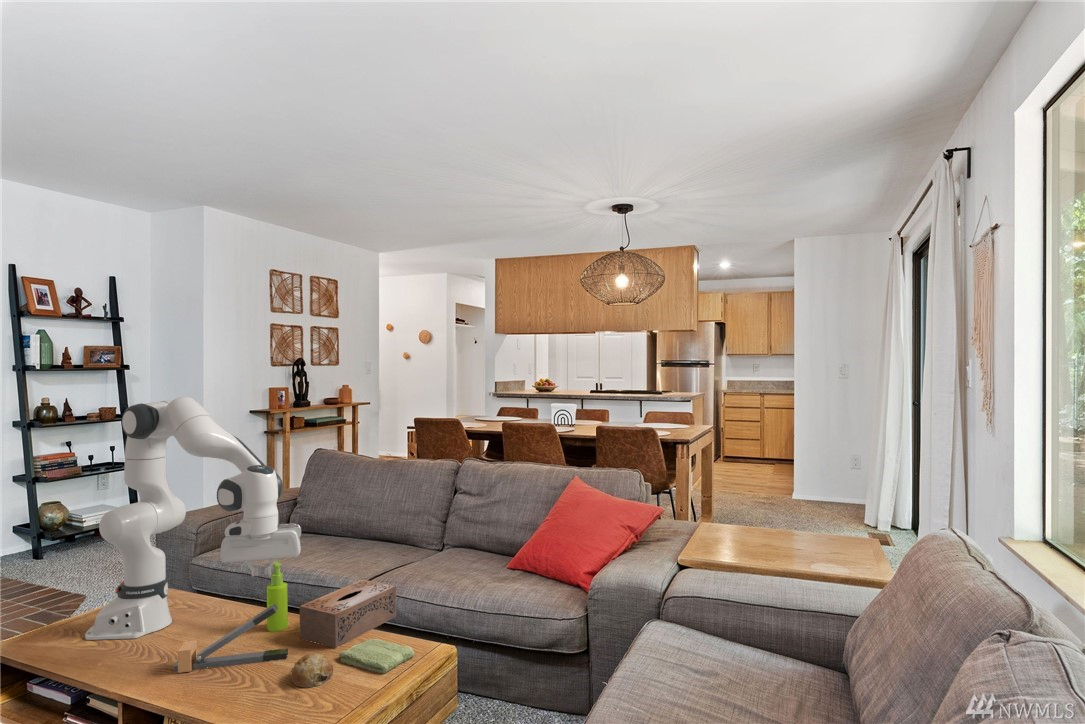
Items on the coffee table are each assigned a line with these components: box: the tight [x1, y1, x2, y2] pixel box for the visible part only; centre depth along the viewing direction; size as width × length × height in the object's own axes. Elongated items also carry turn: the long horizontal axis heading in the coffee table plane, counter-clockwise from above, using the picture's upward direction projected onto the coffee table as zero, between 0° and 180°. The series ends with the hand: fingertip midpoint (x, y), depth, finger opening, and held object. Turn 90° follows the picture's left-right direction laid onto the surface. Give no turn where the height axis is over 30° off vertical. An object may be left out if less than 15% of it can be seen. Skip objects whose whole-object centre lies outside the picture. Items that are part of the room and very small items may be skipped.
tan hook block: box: [177, 640, 198, 674], centre depth 171 cm, size 3×6×6 cm, turn 14°
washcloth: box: [338, 638, 415, 674], centre depth 175 cm, size 13×18×3 cm
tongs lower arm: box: [173, 647, 289, 673], centre depth 173 cm, size 28×3×2 cm, turn 104°
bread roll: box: [290, 652, 334, 688], centre depth 164 cm, size 10×10×8 cm
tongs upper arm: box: [195, 604, 278, 662], centre depth 174 cm, size 23×3×2 cm, turn 104°
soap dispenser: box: [266, 560, 289, 633], centre depth 197 cm, size 6×7×20 cm
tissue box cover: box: [299, 579, 397, 649], centre depth 196 cm, size 26×14×10 cm, turn 152°
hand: (261, 575), depth 175 cm, fingers closed
